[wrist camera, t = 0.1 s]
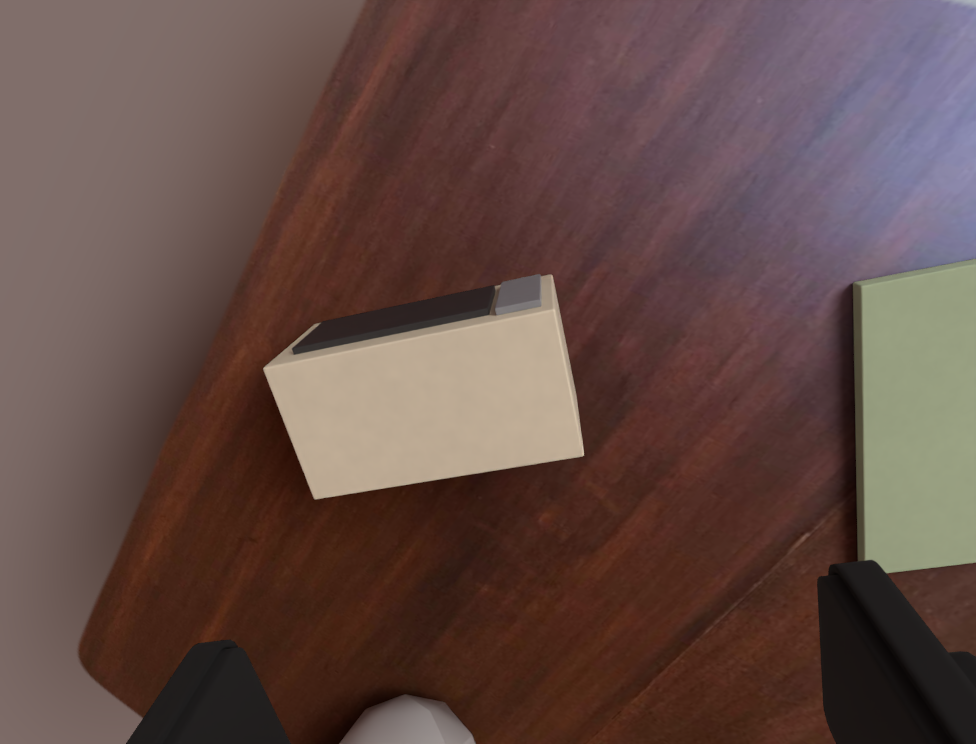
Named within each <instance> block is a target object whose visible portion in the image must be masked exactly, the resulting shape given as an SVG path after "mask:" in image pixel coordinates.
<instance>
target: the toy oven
mask: <svg viewBox="0 0 976 744" xmlns="http://www.w3.org/2000/svg"><path fill="white" fill-rule="evenodd" d="M263 370H264V373H265V376H266V378H267V381H268V383H269V386H270V388H271V391H272V393H273V396H274V398H275V401H276V404H277V406H278V409H279V411H280V414H281V416H282V419H283V421H284V424H285V426H286V429H287V432H288V434H289V437H290V439H291V442H292V444H293V447H294V449H295V452H296V454H297V457H298V460H299V462H300V465H301V467H302V470H303V472H304V475H305V477H306V480H307V483H308V485H309V488H310V490H311V493H312V495H313V498H314V499H321V498H328V497H334V496H340V495H346V494H352V493H359V492H365V491H371V490H377V489H384V488H390V487H396V486H402V485H408V484H415V483H421V482H427V481H433V480H439V479H446V478H452V477H458V476H464V475H471V474H477V473H483V472H489V471H495V470H502V469H508V468H514V467H520V466H526V465H533V464H539V463H545V462H551V461H558V460H564V459H570V458H576V457H582V456H584V450H583V442H582V435H581V427H580V420H579V412H578V405H577V397H576V392H575V387H574V382H573V377H572V372H571V366H570V361H569V356H568V351H567V346H566V341H565V336H564V331H563V326H562V321H561V316H560V311H559V306H558V301H557V296H556V291H555V285H554V280H553V276H552V275H545V276H541V275H540V274H538V275H533V276H529V277H524V278H519V279H515V280H510V281H505V282H502V283H501V285H498V286H494V285H493V286H488V287H484V288H479V289H474V290H470V291H465V292H460V293H455V294H451V295H446V296H441V297H436V298H432V299H427V300H422V301H418V302H413V303H408V304H403V305H399V306H394V307H389V308H384V309H380V310H375V311H370V312H366V313H361V314H356V315H351V316H347V317H342V318H337V319H333V320H328V321H323V322H322V323H318V324H314V325H313V326H312V327H311V328H310V329H308V330H307V331H306V332H305V333H304V334H303V335H301V336H300V337H299V338H298V339H297V340H296V341H294V342H293V343H292V344H291V345H290V346H289V347H287V348H286V349H285V350H284V351H283V352H282V353H280V354H279V355H278V356H277V357H276V358H274V359H273V360H272V361H271V362H270V363H269V364H267V365H266V366H265V367H264V368H263Z"/></svg>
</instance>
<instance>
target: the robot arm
mask: <svg viewBox="0 0 976 744" xmlns="http://www.w3.org/2000/svg"><path fill="white" fill-rule="evenodd" d="M817 587H818V607H819V627H820V647H821V668H822V688H823V706H824V712H825V716H826V720H827V723H828V726H829V728H830V731H831V733H832V735H833V738H834V740H835V742H836V744H976V657H975V656H974V655H972V654H970V653H969V652H961V651H960V652H950V653H948V652H947V651H946V649H945V648H944V647H943V645H942V644H941V643H940V642H939V640H938V639H937V638H936V637H935V635H934V634H933V633H932V631H931V630H930V629H929V628H928V626H927V625H926V624H925V622H924V621H923V620H922V619H921V617H920V616H919V615H918V613H917V612H916V611H915V610H914V608H913V607H912V606H911V605H910V603H909V602H908V601H907V599H906V598H905V597H904V596H903V594H902V593H901V592H900V590H899V589H898V588H897V587H896V585H895V584H894V583H893V581H892V580H891V579H890V578H889V576H888V575H887V574H886V573H885V571H884V570H883V569H882V567H881V566H880V565H879V564H878V563H877V562H876V561H874V560H865V561H857V562H849V563H841V564H833V565H830V567H829V574H828V576H821V577H818V581H817ZM126 744H291V743H290V741H289V739H288V737H287V735H286V733H285V731H284V729H283V727H282V725H281V723H280V721H279V719H278V717H277V715H276V713H275V711H274V709H273V707H272V705H271V703H270V701H269V699H268V696H267V694H266V692H265V690H264V688H263V686H262V684H261V682H260V680H259V678H258V676H257V674H256V672H255V670H254V668H253V666H252V664H251V662H250V660H249V658H248V656H247V654H246V652H245V651H244V649H242V648H240V647H239V648H238V646H237V645H236V643H235V642H233V641H232V640H221V641H213V642H205V643H198V644H196V645H194V646H193V647H192V648H191V649H190V650H189V652H188V653H187V655H186V656H185V657H184V659H183V660H182V662H181V663H180V665H179V666H178V668H177V669H176V671H175V672H174V674H173V675H172V677H171V678H170V680H169V681H168V683H167V684H166V685H165V687H164V688H163V690H162V691H161V693H160V694H159V696H158V697H157V699H156V700H155V702H154V703H153V705H152V706H151V708H150V709H149V711H148V712H147V713H146V715H145V716H144V718H143V719H142V721H141V723H140V724H139V725H138V727H137V728H136V730H135V731H134V733H133V734H132V736H131V737H130V739H129V740H128V742H127V743H126Z"/></svg>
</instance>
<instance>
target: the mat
mask: <svg viewBox="0 0 976 744" xmlns="http://www.w3.org/2000/svg"><path fill="white" fill-rule="evenodd" d="M853 319H854V375H855V431H856V488H857V544H858V561H865V560H874V561H876V562H877V563H878V564H879V565H880V566H881V567H882V569H883V570H884V571H885V573H893V572H902V571H910V570H918V569H927V568H935V567H943V566H952V565H960V564H968V563H976V259H972V260H967V261H961V262H956V263H951V264H946V265H941V266H936V267H930V268H925V269H920V270H915V271H910V272H905V273H899V274H894V275H889V276H884V277H879V278H874V279H868V280H863V281H858V282H854V283H853Z"/></svg>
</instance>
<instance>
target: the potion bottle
mask: <svg viewBox="0 0 976 744" xmlns="http://www.w3.org/2000/svg"><path fill="white" fill-rule="evenodd" d="M339 744H476V742H475V739H474V736H473V734H472V732H471V731H470V730H469V729H468V728H467V727H466V726H465V725H464V723H463V722H462V721H461V720H460V719H459V718H458V717H457V716H456V714H455V713H454V712H453V711H452V710H451V709H450V708H449V707H448V705H447V704H446V703H445V702H441V701H436V700H431V699H426V698H421V697H416V696H411V695H406V694H404V695H401V696H399V697H396V698H393V699H391V700H388V701H385V702H383V703H380V704H377V705H375V706H372V707H369V708H367V709H365V711H364V712H363V713H362V714H361V716H360V717H359V718H358V720H357V721H356V722H355V724H354V725H353V726H352V728H351V729H350V730H349V731H348V733H347V734H346V735H345V737H344V738H343V739H342V741H341V742H340V743H339Z"/></svg>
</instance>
